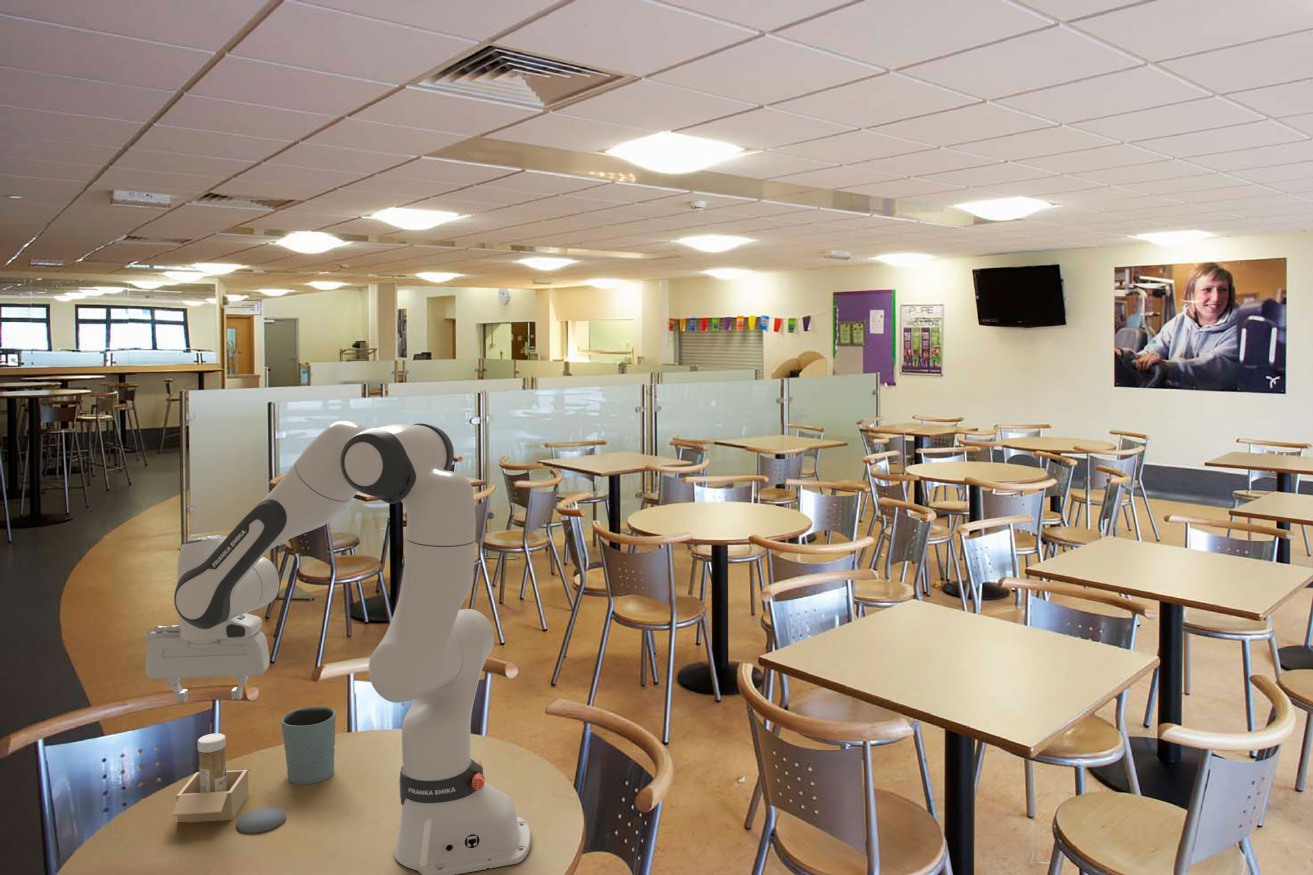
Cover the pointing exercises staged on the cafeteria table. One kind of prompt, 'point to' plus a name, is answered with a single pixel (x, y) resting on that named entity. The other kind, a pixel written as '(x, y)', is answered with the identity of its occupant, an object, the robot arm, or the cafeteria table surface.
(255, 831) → the coaster
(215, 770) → the sprinkles bottle
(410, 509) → the robot arm
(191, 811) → the carton
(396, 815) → the cafeteria table surface
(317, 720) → the teal cup
